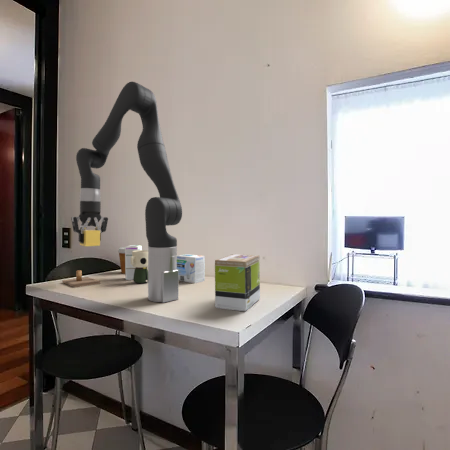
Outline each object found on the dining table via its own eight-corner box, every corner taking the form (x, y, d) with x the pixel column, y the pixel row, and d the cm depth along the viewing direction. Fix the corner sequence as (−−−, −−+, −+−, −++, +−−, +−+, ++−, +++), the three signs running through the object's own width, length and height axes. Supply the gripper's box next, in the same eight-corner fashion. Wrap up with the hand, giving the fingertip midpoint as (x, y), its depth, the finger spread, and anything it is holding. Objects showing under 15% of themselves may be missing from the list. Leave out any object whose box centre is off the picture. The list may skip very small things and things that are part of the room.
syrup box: (138, 280, 132) (138, 246, 131) (124, 280, 132) (124, 246, 131) (142, 277, 137) (142, 245, 137) (129, 277, 137) (129, 244, 137)
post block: (100, 283, 125) (100, 271, 124) (74, 287, 117) (74, 274, 117) (87, 279, 133) (87, 267, 133) (62, 282, 125) (62, 270, 125)
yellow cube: (100, 245, 123) (100, 230, 123) (85, 246, 119) (85, 230, 119) (93, 244, 127) (94, 229, 127) (79, 245, 123) (79, 230, 123)
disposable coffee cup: (114, 274, 145) (114, 248, 145) (123, 270, 155) (123, 246, 154) (133, 275, 144) (133, 249, 143) (141, 271, 153) (141, 247, 153)
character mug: (137, 286, 120) (137, 252, 120) (124, 284, 124) (124, 251, 124) (157, 281, 130) (157, 250, 130) (144, 279, 134) (144, 249, 133)
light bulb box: (175, 280, 132) (175, 255, 132) (186, 278, 138) (186, 253, 138) (195, 283, 126) (195, 257, 126) (205, 280, 132) (205, 255, 132)
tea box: (232, 296, 106) (232, 253, 106) (260, 299, 102) (261, 254, 102) (213, 308, 92) (214, 258, 92) (245, 312, 88) (246, 260, 88)
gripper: (75, 199, 115) (74, 244, 115) (112, 201, 125) (111, 242, 126) (67, 199, 120) (67, 243, 121) (103, 201, 130) (103, 241, 131)
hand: (89, 242), depth 123 cm, fingers closed on yellow cube, 5 cm apart
